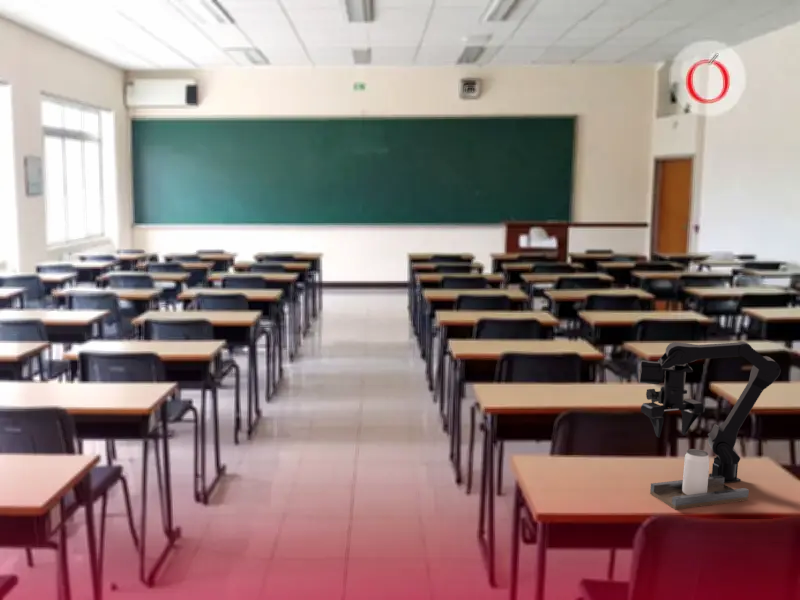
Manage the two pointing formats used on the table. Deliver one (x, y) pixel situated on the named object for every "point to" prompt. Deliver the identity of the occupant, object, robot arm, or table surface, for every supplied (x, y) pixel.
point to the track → (715, 494)
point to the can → (695, 472)
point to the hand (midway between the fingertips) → (670, 435)
